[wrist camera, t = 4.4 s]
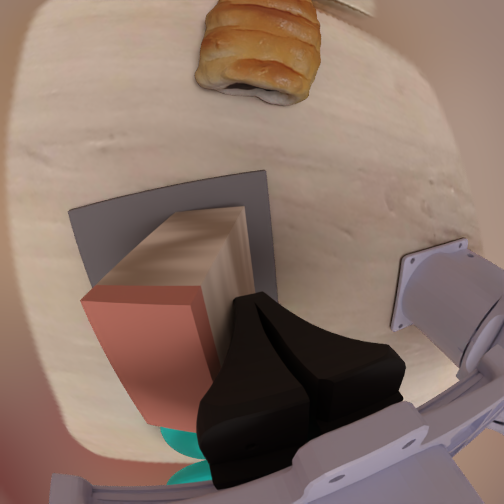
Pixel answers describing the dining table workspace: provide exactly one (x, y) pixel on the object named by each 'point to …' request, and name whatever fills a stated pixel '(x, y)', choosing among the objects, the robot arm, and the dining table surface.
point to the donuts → (189, 447)
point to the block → (174, 311)
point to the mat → (165, 205)
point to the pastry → (261, 49)
